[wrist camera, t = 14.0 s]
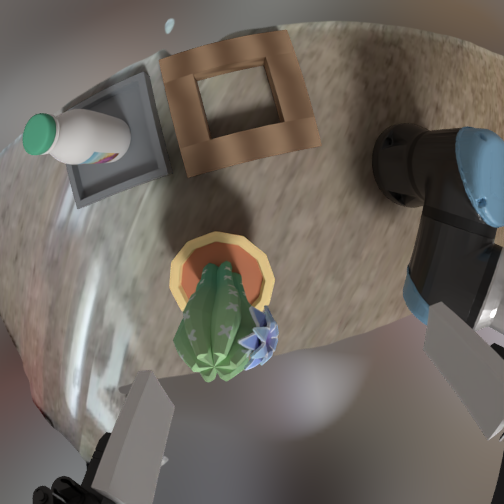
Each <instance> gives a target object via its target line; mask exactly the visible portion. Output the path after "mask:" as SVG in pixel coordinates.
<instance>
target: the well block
mask: <svg viewBox="0 0 504 504" xmlns="http://www.w3.org/2000/svg"><path fill="white" fill-rule="evenodd" d="M159 64H160V68H161V73H162V77H163V82H164V86H165V91H166V95H167V99H168V103H169V108H170V112H171V116H172V120H173V124H174V128H175V132H176V136H177V140H178V144H179V148H180V151H181V155H182V159H183V163H184V166H185V170H186V174H187V177H188V178H190V177H194V176H197V175H200V174H204V173H207V172H211V171H214V170H218V169H222V168H225V167H229V166H233V165H237V164H241V163H245V162H249V161H253V160H257V159H261V158H265V157H270V156H274V155H279V154H284V153H288V152H293V151H298V150H303V149H308V148H314V147H319V146H322V145H321V140H320V136H319V132H318V128H317V124H316V121H315V117H314V113H313V109H312V106H311V102H310V99H309V95H308V92H307V89H306V85H305V82H304V79H303V75H302V72H301V69H300V66H299V63H298V60H297V57H296V54H295V51H294V48H293V46H292V43H291V40H290V37H289V35H288V32H287V30H281V31H273V32H265V33H259V34H253V35H247V36H242V37H237V38H232V39H228V40H223V41H219V42H215V43H211V44H207V45H204V46H200V47H197V48H193V49H190V50H187V51H184V52H180V53H177V54H175V55H172V56H169V57H166V58H163V59H160V60H159ZM263 65H264V67H265V70H266V74H267V77H268V80H269V84H270V87H271V90H272V94H273V97H274V101H275V104H276V108H277V112H278V115H279V119H280V123H277V124H272V125H267V126H263V127H258V128H254V129H249V130H245V131H241V132H237V133H233V134H229V135H225V136H222V137H218V138H214V139H212V137H211V133H210V129H209V125H208V122H207V118H206V114H205V110H204V106H203V102H202V98H201V95H200V91H199V87H198V83H197V81H199V80H203V79H206V78H210V77H214V76H217V75H221V74H225V73H229V72H234V71H238V70H243V69H247V68H252V67H257V66H263Z"/></svg>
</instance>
